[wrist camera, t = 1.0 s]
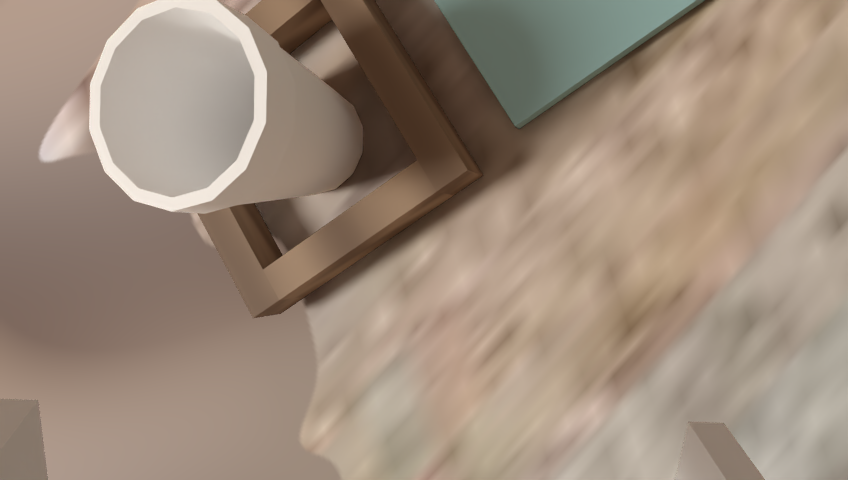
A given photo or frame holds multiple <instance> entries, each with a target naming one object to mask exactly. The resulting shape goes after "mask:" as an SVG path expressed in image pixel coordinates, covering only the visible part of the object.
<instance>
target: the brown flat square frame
mask: <svg viewBox="0 0 848 480" xmlns="http://www.w3.org/2000/svg"><path fill="white" fill-rule="evenodd" d="M245 15H247V16H248V17H249V18H250V19H251V20H253V21H254V22H255V23H256V24H257V25H259V26H260V27H261V28H262V29H263V30H264V31H266V32H267V33H268V34H269V35H270V36H272V37H273V38H274V39H275V40H276V41H277V42H278V43H279V46H280V47H281V48H282V49H283V50H284V51H286V52H287V53H288V54H290V53H291V52H292V51H294V50H295V49H296V48H297V47H298V46H300V45H301V44H302V43H303V42H305V41H306V40H307V39H308V38H310V37H311V36H312V35H313V34H315V33H316V32H317V31H318V30H319V29H321V28H322V27H323V26H324V25H326V24H327V23H328V22H329V21H331V20H333V21H334V23H335V25H336V26H337V28H338V30H339V31H340V33H341V35H342V36H343V38H344V40H345V41H346V43H347V45H348V46H349V48H350V50H351V51H352V53H353V55H354V56H355V58H356V60H357V61H358V63H359V64H360V66H361V68H362V69H363V71H364V73H365V74H366V76H367V78H368V79H369V81H370V83H371V84H372V86H373V88H374V89H375V91H376V93H377V94H378V96H379V98H380V99H381V101H382V103H383V104H384V106H385V107H386V109H387V111H388V112H389V114H390V116H391V117H392V119H393V121H394V122H395V124H396V126H397V127H398V129H399V131H400V132H401V134H402V136H403V137H404V139H405V141H406V142H407V144H408V146H409V147H410V149H411V150H412V152H413V154H414V155H415V157H416V159H417V161H415V162H414V163H412V164H411V165H409V166H408V167H407V168H405V169H404V170H402V171H401V172H400V173H398V174H397V175H395V176H394V177H393V178H391V179H390V180H388V181H387V182H386V183H384V184H383V185H381V186H380V187H379V188H377V189H376V190H374V191H373V192H371V193H370V194H369V195H367V196H366V197H364V198H363V199H362V200H360V201H359V202H357V203H356V204H355V205H353V206H352V207H350V208H349V209H348V210H346V211H345V212H343V213H342V214H341V215H339V216H338V217H336V218H335V219H334V220H332V221H331V222H329V223H328V224H326V225H325V226H324V227H322V228H321V229H319V230H318V231H317V232H315V233H314V234H312V235H311V236H310V237H308V238H307V239H305V240H304V241H303V242H301V243H300V244H298V245H297V246H296V247H294V248H293V249H291V250H290V251H288V252H287V253H286V254H284V255H282V253H281V252H280V250H279V248H278V246H277V244H276V243H275V241H274V239H273V237H272V235H271V233H270V232H269V230H268V228H267V226H266V224H265V222H264V221H263V219H262V217H261V215H260V213H259V211H258V210H257V208H256V206H255V204H254V203H249V204H242V205H236V206H232V207H228V208H224V209H221V210H217V211H213V212H209V213H205V214H202V213H198V215H199V217H200V219H201V221H202V223H203V224H204V226H205V228H206V230H207V232H208V234H209V236H210V238H211V240H212V241H213V243H214V245H215V247H216V249H217V251H218V253H219V255H220V257H221V258H222V260H223V262H224V264H225V266H226V268H227V269H228V272H229V273H230V275H231V277H232V279H233V281H234V283H235V285H236V287H237V288H238V291H239V292H240V294H241V296H242V298H243V300H244V302H245V304H246V306H247V307H248V309H249V311H250V313H251V315H252V317H253V318H257V317H263V316H269V315H275V314H281V313H282V312H284V311H285V310H287V309H288V308H290V307H291V306H292V305H294V304H295V303H296V302H298V301H300V300H301V299H303V298H304V297H306V296H307V295H309V294H310V293H312V292H313V291H314V290H316V289H317V288H319V287H320V286H322V285H323V284H325V283H326V282H328V281H329V280H331V279H332V278H334V277H335V276H336V275H338V274H339V273H341V272H342V271H344V270H345V269H347V268H348V267H350V266H351V265H353V264H354V263H356V262H357V261H358V260H360V259H361V258H363V257H364V256H366V255H367V254H369V253H370V252H372V251H373V250H375V249H376V248H378V247H379V246H380V245H382V244H383V243H385V242H386V241H388V240H389V239H391V238H392V237H394V236H395V235H397V234H398V233H399V232H401V231H402V230H404V229H405V228H407V227H408V226H410V225H411V224H413V223H414V222H416V221H417V220H419V219H420V218H421V217H423V216H424V215H426V214H427V213H429V212H430V211H432V210H433V209H435V208H436V207H438V206H439V205H441V204H442V203H443V202H445V201H446V200H448V199H449V198H451V197H452V196H454V195H455V194H457V193H458V192H460V191H461V190H462V189H464V188H465V187H467V186H468V185H470V184H471V183H473V182H474V181H476V180H477V179H479V178H480V177H482V176H483V174H482V173H481V171H480V169H479V168H478V166H477V165H476V163H475V161H474V160H473V158H472V156H471V155H470V153H469V152H468V150H467V148H466V147H465V145H464V144H463V142H462V140H461V139H460V137H459V136H458V134H457V132H456V131H455V129H454V128H453V126H452V124H451V123H450V121H449V119H448V118H447V116H446V115H445V113H444V111H443V110H442V108H441V107H440V105H439V103H438V102H437V100H436V99H435V97H434V95H433V94H432V92H431V91H430V89H429V87H428V86H427V84H426V82H425V81H424V79H423V78H422V76H421V74H420V73H419V71H418V70H417V68H416V66H415V65H414V63H413V62H412V60H411V58H410V57H409V55H408V54H407V52H406V50H405V49H404V47H403V45H402V44H401V42H400V41H399V39H398V37H397V36H396V34H395V33H394V31H393V29H392V28H391V26H390V25H389V23H388V21H387V20H386V18H385V17H384V15H383V13H382V12H381V10H380V8H379V7H378V5H377V4H376V2H375V0H262V1H261V2H259V3H258V4H257V5H256V6H255V7H253V8H252V9H251V10H250V11H249V12H248V13H246V14H245Z"/></svg>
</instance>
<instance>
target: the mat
mask: <svg viewBox="0 0 848 480" xmlns="http://www.w3.org/2000/svg"><path fill="white" fill-rule="evenodd" d="M434 1H435V2H436V4H437V5H438V7H439V9H440V10H441V12H442V13H443V15H444V16H445V18H446V19H447V21H448V23H449V24H450V26H451V27H452V29H453V30H454V32H455V33H456V35H457V37H458V38H459V40H460V41H461V43H462V44H463V46H464V48H465V49H466V51H467V52H468V54H469V55H470V57H471V58H472V60H473V62H474V63H475V65H476V66H477V68H478V69H479V71H480V73H481V74H482V76H483V77H484V79H485V80H486V82H487V83H488V85H489V87H490V88H491V90H492V91H493V93H494V94H495V96H496V97H497V99H498V101H499V102H500V104H501V105H502V107H503V108H504V110H505V112H506V113H507V115H508V116H509V118H510V119H511V121H512V122H513V124H514V126H515V127H517V128H518V129H520V128H521V127H523V126H524V125H526V124H527V123H529V122H530V121H531V120H533V119H534V118H536V117H537V116H539V115H540V114H542V113H543V112H544V111H546V110H547V109H549V108H550V107H552V106H553V105H555V104H556V103H557V102H559V101H560V100H562V99H563V98H565V97H566V96H568V95H569V94H570V93H572V92H573V91H575V90H576V89H578V88H579V87H581V86H582V85H583V84H585V83H586V82H588V81H589V80H591V79H592V78H594V77H595V76H596V75H598V74H599V73H601V72H602V71H604V70H605V69H607V68H608V67H609V66H611V65H612V64H614V63H615V62H617V61H618V60H620V59H621V58H622V57H624V56H625V55H627V54H628V53H630V52H631V51H633V50H634V49H635V48H637V47H638V46H640V45H641V44H643V43H644V42H646V41H647V40H648V39H650V38H651V37H653V36H654V35H656V34H657V33H659V32H660V31H661V30H663V29H664V28H666V27H667V26H669V25H670V24H672V23H673V22H674V21H676V20H677V19H679V18H680V17H682V16H683V15H685V14H686V13H687V12H689V11H690V10H692V9H693V8H695V7H696V6H698V5H699V4H700V3H702V2H703V1H705V0H434Z"/></svg>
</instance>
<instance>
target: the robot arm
mask: <svg viewBox="0 0 848 480" xmlns="http://www.w3.org/2000/svg"><path fill="white" fill-rule="evenodd" d="M0 480H48V476H47V469H46V460H45V452H44V444H43V437H42V427H41V419H40V411H39V403H38V400H17V399H16V400H15V399H0ZM675 480H765V479H764V478H763V476H762V475H761V474H760V472H759V471H758V470H757V468H756V467H755V465H754V464H753V463H752V461H751V460H750V459H749V457H748V456H747V454H746V453H745V452H744V450H743V449H742V448H741V446H740V445H739V443H738V442H737V441H736V439H735V438H734V437H733V435H732V434H731V432H730V431H729V430H728V428H727V427H726V425H725V424H724V423H708V422H688V426H687V430H686V434H685V438H684V443H683V447H682V451H681V455H680V459H679V464H678V468H677V472H676V476H675Z"/></svg>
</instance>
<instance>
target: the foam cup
mask: <svg viewBox="0 0 848 480" xmlns="http://www.w3.org/2000/svg"><path fill="white" fill-rule="evenodd" d="M89 130H90V133H91V136H92V139H93V141H94V144H95V147H96V150H97V152H98V155H99V158H100V160H101V163H102V166H103V168H104V171H105V172H106V173H107V174H108V175H109V176H110V177H111V178H112V179H113V180H114V181H115V182H116V183H117V184H118V185H119V186H120V187H121V188H122V189H123V191H124V192H125V193H127V194H128V195H129V197H130V198H131V199H132V200H133V201H137V202H140V203H144V204H147V205H151V206H154V207H158V208H161V209H165V210H168V211H172V212H187V213H202V214H205V213H209V212H213V211H217V210H221V209H224V208H228V207H232V206H236V205H242V204H249V203H257V202H265V201H272V200H280V199H287V198H295V197H302V196H310V195H313V194H314V195H315V194H319V193H323V192H327V191H330V190H334V189H336V188H337V187H339V186H340V185H341V184H342V183H343V182H344V181H345V180H347V179H348V178H349V177H350V176H351V175H352V174H353V172H354V170H355V168H356V166H357V164H358V161H359V159H360V157H361V155H362V153H363V126H362V124H361V122H360V119H359V117H358V115H357V112H356V110H355V108H354V106H353V105H352V104H351V103H349V102H348V101H347V100H346V99H345V98H344V97H342V96H341V95H340V94H339V93H338V92H336V91H335V90H334V89H333V88H332V87H330V86H329V85H328V84H326V83H325V82H324V81H323V80H321V79H320V78H319V77H318V76H316V75H315V74H314V73H312V72H311V71H310V70H309V69H307V68H306V67H305V66H303V65H302V64H301V63H300V62H298V61H297V60H296V59H295V58H293V57H292V56H291V55H289V54H288V53H287V52H286V51H284V50H283V49H282V48H281V47H280V46H279V43H278V42H277V41H276V40H275V39H274V38H273V37H272V36H270V35H269V34H268V33H267V32H266V31H264V30H263V29H262V28H261V27H260V26H259V25H257V24H256V23H255V22H254V21H253V20H251V19H250V18H249V17H248V16H247V15H245V14H243V13H241V12H239V11H237V10H235V9H233V8H231V7H229V6H227V5H225V4H223V3H221V2H219V1H217V0H157V1H155V2H152V3H150V4H147V5H144V6H142V7H139V8H137V9H136V10H135V11H134V12H133V13H132V15H131V16H130V17H129V18H128V19H127V20H126V21H125V22H124V23H123V24H122V25H121V26H120V27H119V28H118V29H117V31H116V32H115V33H114V34H113V35H112V36H111V37H110V38H109V39H108V40H107V42H106V45H105V47H104V50H103V52H102V55H101V58H100V60H99V63H98V65H97V68H96V70H95V73H94V75H93V78H92V81H91V83H90V124H89Z"/></svg>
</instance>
